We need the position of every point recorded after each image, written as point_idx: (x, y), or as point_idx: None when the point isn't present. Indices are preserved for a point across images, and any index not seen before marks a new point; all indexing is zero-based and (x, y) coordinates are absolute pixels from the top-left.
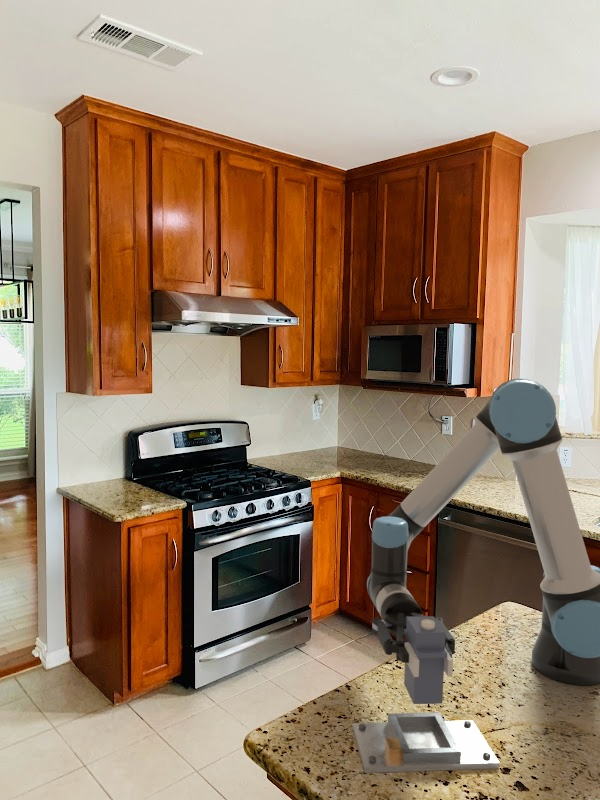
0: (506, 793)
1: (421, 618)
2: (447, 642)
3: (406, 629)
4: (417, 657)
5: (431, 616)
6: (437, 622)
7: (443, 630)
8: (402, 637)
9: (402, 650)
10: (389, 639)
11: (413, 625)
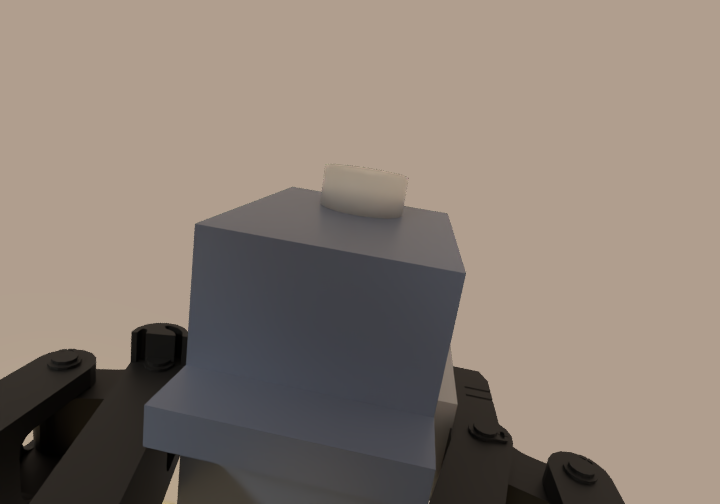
0: (165, 501)
1: (336, 237)
2: (99, 387)
3: (439, 384)
4: None
5: (217, 228)
6: (252, 204)
7: (288, 189)
8: (453, 475)
9: (476, 399)
10: (578, 459)
11: (444, 228)
